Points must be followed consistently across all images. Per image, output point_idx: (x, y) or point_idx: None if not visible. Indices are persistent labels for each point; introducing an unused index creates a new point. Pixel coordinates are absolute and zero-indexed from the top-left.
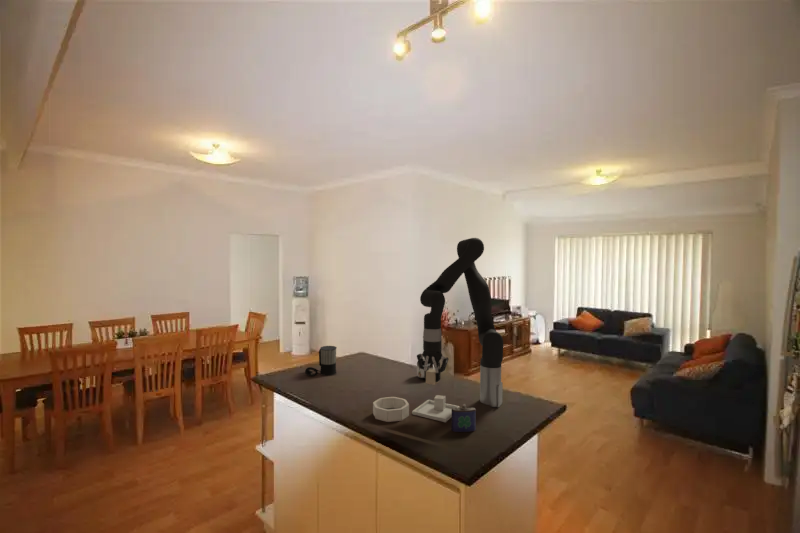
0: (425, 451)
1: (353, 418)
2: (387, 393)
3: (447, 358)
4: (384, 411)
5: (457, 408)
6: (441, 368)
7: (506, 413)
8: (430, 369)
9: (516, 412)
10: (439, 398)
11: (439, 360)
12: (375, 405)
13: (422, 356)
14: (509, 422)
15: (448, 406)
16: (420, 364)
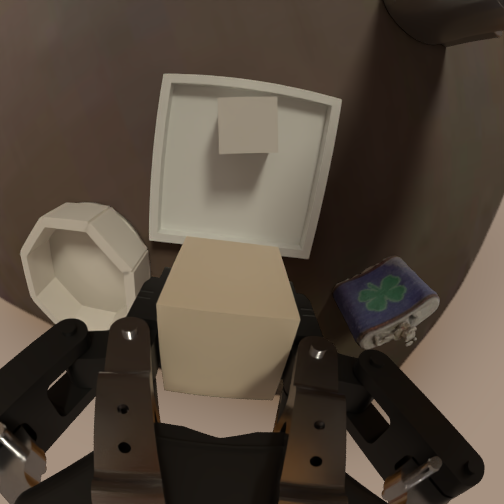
0: (281, 387)
1: (38, 309)
2: (5, 86)
3: (466, 483)
4: None
5: (381, 344)
6: (357, 427)
7: (469, 91)
8: (173, 325)
9: (485, 81)
10: (252, 148)
11: (352, 487)
12: (53, 319)
13: (37, 481)
14: (477, 159)
15: (282, 95)
16: (68, 406)
